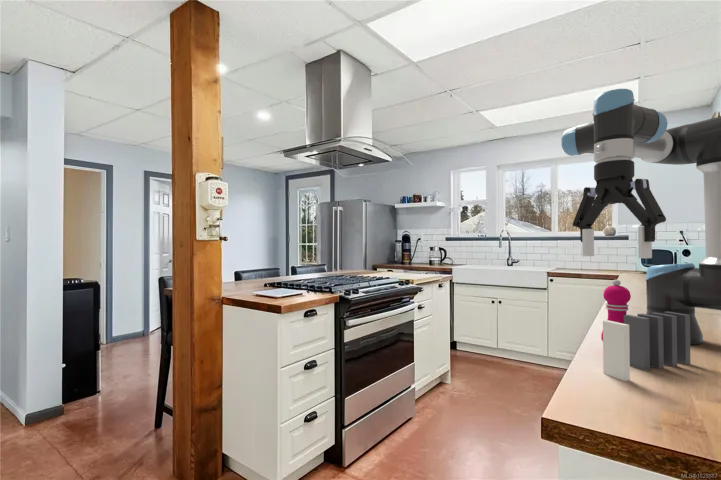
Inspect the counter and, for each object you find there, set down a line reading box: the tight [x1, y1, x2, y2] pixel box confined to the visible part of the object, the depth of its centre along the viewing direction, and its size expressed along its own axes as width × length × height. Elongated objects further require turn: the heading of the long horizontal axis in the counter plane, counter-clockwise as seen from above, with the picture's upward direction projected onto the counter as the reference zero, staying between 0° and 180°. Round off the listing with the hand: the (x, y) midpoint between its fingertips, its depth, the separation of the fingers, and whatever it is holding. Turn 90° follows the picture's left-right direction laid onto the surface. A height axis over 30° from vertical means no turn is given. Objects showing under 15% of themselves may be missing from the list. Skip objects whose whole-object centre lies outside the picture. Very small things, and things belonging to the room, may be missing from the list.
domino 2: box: [636, 313, 665, 369], centre depth 93 cm, size 2×5×12 cm, turn 17°
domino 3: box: [651, 313, 678, 367], centre depth 95 cm, size 2×5×12 cm, turn 17°
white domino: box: [602, 320, 631, 382], centre depth 85 cm, size 2×5×12 cm, turn 17°
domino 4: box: [664, 312, 691, 366], centre depth 96 cm, size 2×5×12 cm, turn 17°
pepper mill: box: [600, 279, 632, 342], centre depth 101 cm, size 7×7×20 cm
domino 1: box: [624, 314, 651, 371], centre depth 92 cm, size 2×5×12 cm, turn 17°
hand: (614, 257), depth 85 cm, fingers open, 13 cm apart
